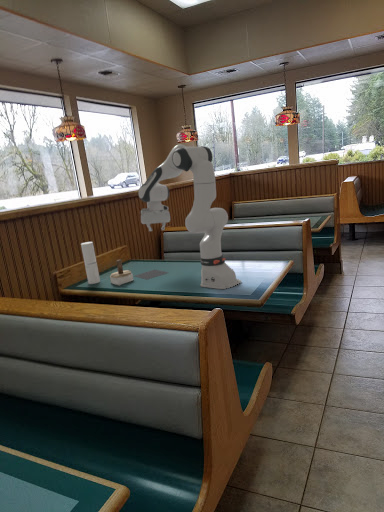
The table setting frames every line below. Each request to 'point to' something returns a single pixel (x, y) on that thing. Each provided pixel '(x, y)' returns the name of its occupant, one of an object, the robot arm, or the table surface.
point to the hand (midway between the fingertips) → (156, 230)
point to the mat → (150, 274)
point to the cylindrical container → (90, 262)
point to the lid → (120, 271)
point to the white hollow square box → (121, 280)
